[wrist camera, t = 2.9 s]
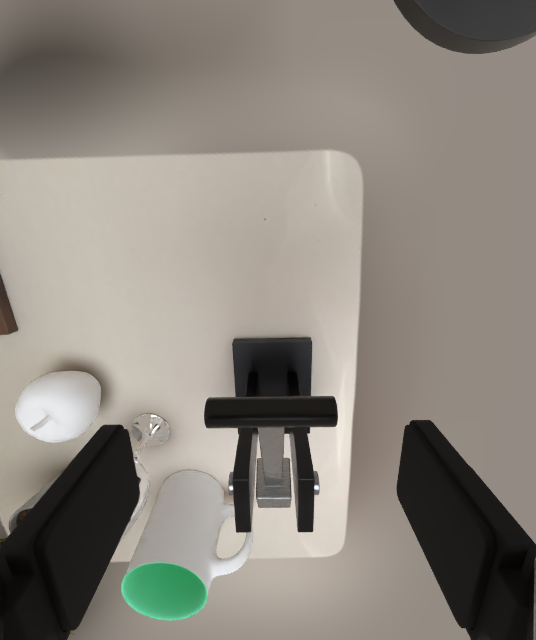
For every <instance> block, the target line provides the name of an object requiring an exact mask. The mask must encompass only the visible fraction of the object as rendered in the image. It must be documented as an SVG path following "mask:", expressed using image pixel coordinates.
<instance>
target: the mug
mask: <svg viewBox="0 0 536 640" xmlns="http://www.w3.org/2000/svg"><path fill="white" fill-rule="evenodd" d="M230 517H235V511H234V504H224V491H223V488H222V487H221V485H220V484H219V482H218V481H217V480H216V479H214V478H213V477H212V476H210V475H208V474H206V473H203V472H200V471H194V470H186V471H180V472H177V473H175V474H173V475H171V476H169V477H168V478H167V479H166V480H165V481H164V483H163V485H162V487H161V490H160V492H159V494H158V497H157V499H156V502H155V504H154V506H153V509H152V511H151V514H150V516H149V518H148V521H147V523H146V526H145V528H144V530H143V533H142V535H141V538H140V540H139V542H138V545H137V547H136V550H135V552H134V554H133V557H132V559H131V561H130V564H129V566H128V569H127V571H126V573H125V576H124V578H123V581H122V585H121V591H122V595H123V597H124V599H125V600H126V602H127V603H128V604H129V605H130V606H131V607H132V608H133V609H135V610H136V611H137V612H139V613H141V614H143V615H146V616H148V617H151V618H155V619H160V620H179V619H184V618H188V617H190V616H192V615H195V614H196V613H197V612H199V611H200V610H201V609H202V608H203V607H204V606H205V604H206V602H207V598H208V592H209V588H210V584H211V582H212V580H213V579H214V578H215V577H217V576H220V575H225V574H229V573H232V572H234V571H236V570H238V569H239V568H240V567H241V566H242V565H243V564H244V563H245V561H246V560H247V558H248V556H249V553H250V551H251V547H252V542H253V528H252V529H251V532H247V534H246V539H245V542H244V544H243V546H242V548H241V549H240V551H239V552H238V553H237V554H235V555H234V556H232V557H230V558H227V559H221V558H219V557H218V556H217V555H216V547H217V541H218V537H219V533H220V529H221V527H222V524H223V523H224V521H225V520H226V519H228V518H230Z"/></svg>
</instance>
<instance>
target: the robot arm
mask: <svg viewBox="0 0 536 640" xmlns="http://www.w3.org/2000/svg"><path fill="white" fill-rule="evenodd" d="M397 495H398V498H399V501H400V503H401V505H402V508H403V510H404V512H405V514H406V516H407V518H408V520H409V522H410V524H411V527H412V529H413V531H414V533H415V535H416V537H417V539H418V541H419V543H420V546H421V548H422V550H423V552H424V554H425V556H426V558H427V561H428V562H429V565H430V567H431V569H432V571H433V573H434V575H435V577H436V580H437V582H438V584H439V586H440V588H441V590H442V592H443V594H444V596H445V599H446V601H447V603H448V605H449V607H450V609H451V611H452V613H453V615H454V617H455V620H456V621H457V623H458V624H459V626H460V627H461V628H466V630H467V632H468V634H469V636H470V638H471V640H536V544H535V543H534V542H533V541H532V539H531V538H530V537H529V536H528V535H527V534H526V532H525V531H524V530H523V528H522V527H521V526H520V525H519V524H518V523H517V521H516V520H515V519H514V518H513V517H512V515H511V514H510V513H509V512H508V511H507V510H506V508H505V507H504V506H503V505H502V503H501V502H500V501H499V500H498V499H497V497H496V496H495V495H494V494H493V493H492V492H491V490H490V489H489V488H488V487H487V486H486V484H485V483H484V482H483V481H482V480H481V478H480V477H479V476H478V475H477V474H476V472H475V471H474V470H473V469H472V468H471V467H470V466H469V465H468V464H467V463H466V462H465V461H464V459H463V458H462V457H461V456H460V455H459V453H458V452H457V451H456V450H455V449H454V447H453V446H452V445H451V444H450V443H449V442H448V440H447V439H446V438H445V437H444V435H443V434H442V433H441V432H440V431H439V429H438V428H437V427H436V426H435V425H434V423H433V422H431V421H430V420H412V421H411V422H410V424H409V425H406V426H405V429H404V437H403V444H402V452H401V459H400V467H399V474H398V481H397ZM139 497H140V488H139V483H138V478H137V473H136V467H135V462H134V457H133V452H132V447H131V441H130V436H129V432H128V430H127V429H124V427H123V426H122V425H103V426H102V427H100V429H99V430H98V431H97V432H96V433H95V435H94V436H93V437H92V438H91V439H90V440H89V442H88V443H87V444H86V445H85V446H84V448H83V449H82V450H81V451H80V452H79V453H78V455H77V456H76V457H75V458H74V459H73V461H72V462H71V463H70V464H69V465H68V466H67V468H66V469H65V470H64V471H63V472H62V473H61V475H60V476H59V477H58V478H57V479H56V481H55V482H54V483H53V484H52V485H51V486H50V488H49V489H48V490H47V491H46V492H45V494H44V495H43V496H42V497H41V498H40V499H39V501H38V502H37V503H36V504H35V505H34V507H33V508H32V509H31V510H30V511H29V512H28V514H27V515H26V516H25V517H24V518H23V520H22V521H21V522H20V523H19V524H18V525H17V527H16V528H15V529H14V530H13V531H12V533H11V534H10V535H9V536H8V537H7V538H6V540H5V541H4V542H3V543H2V544H1V548H0V640H67V638H68V636H69V634H70V632H71V630H75V629H76V628H77V627H78V626H79V624H80V623H81V621H82V619H83V617H84V614H85V613H86V610H87V608H88V606H89V604H90V602H91V600H92V598H93V596H94V594H95V592H96V590H97V587H98V585H99V583H100V581H101V579H102V577H103V575H104V573H105V571H106V569H107V567H108V565H109V562H110V560H111V558H112V556H113V554H114V552H115V550H116V548H117V546H118V544H119V542H120V539H121V537H122V535H123V533H124V531H125V529H126V527H127V525H128V523H129V521H130V519H131V516H132V514H133V512H134V510H135V508H136V506H137V504H138V501H139Z"/></svg>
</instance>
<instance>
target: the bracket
mask: <svg viewBox="0 0 536 640" xmlns="http://www.w3.org/2000/svg"><path fill="white" fill-rule="evenodd" d="M232 345H233V360H234V376H235V392H236V397H291V396H311V364H312V341H311V338H266V339H234V340H233V343H232ZM307 433H310V427H285V428H284V434H290V446H291V458H292V470H293V481H294V493H295V505H296V517H297V529H298V532H313V520H314V495H318V494H319V477H318V473H317V471H313V465H312V459H311V453H310V447H309V441H308V435H307ZM238 434H239V439H238V445H237V451H236V458H235V464H234V471H233V472H230V475H229V486H228V489H229V495H233V498H234V511H235V524H236V532H251V529H252V514H253V499H254V484H255V469H256V454H257V439H258V428H238Z"/></svg>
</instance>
